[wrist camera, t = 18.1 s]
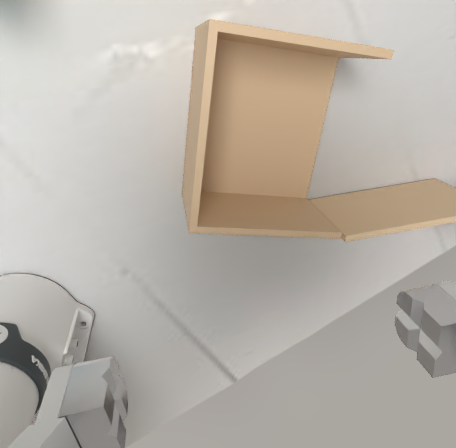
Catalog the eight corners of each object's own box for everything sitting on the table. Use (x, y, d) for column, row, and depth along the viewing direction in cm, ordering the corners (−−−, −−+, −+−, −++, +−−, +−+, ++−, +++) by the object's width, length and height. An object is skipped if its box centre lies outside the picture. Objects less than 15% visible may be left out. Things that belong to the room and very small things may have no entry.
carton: (303, 201, 53) (340, 238, 42) (181, 193, 49) (189, 232, 39) (337, 50, 45) (393, 49, 34) (195, 27, 41) (209, 19, 31)
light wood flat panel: (308, 208, 53) (367, 269, 39) (308, 195, 53) (368, 252, 38) (433, 187, 56) (534, 236, 41) (435, 174, 55) (539, 220, 40)
